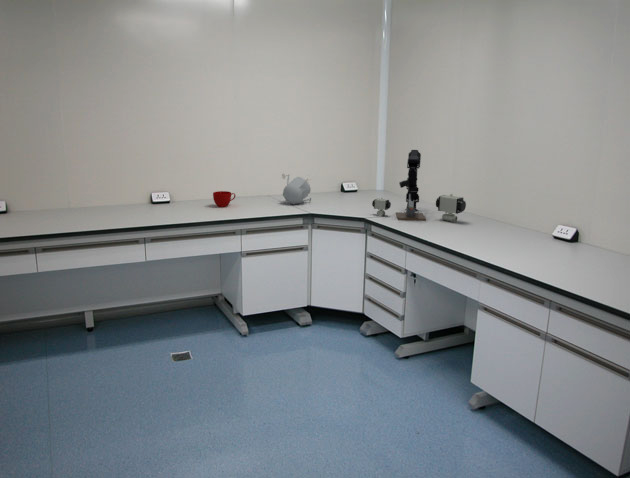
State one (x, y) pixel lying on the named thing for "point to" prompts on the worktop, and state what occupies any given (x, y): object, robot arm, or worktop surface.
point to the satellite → (296, 190)
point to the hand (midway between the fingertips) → (411, 199)
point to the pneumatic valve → (381, 206)
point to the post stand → (410, 215)
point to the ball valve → (450, 206)
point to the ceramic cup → (222, 198)
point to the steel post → (411, 202)
